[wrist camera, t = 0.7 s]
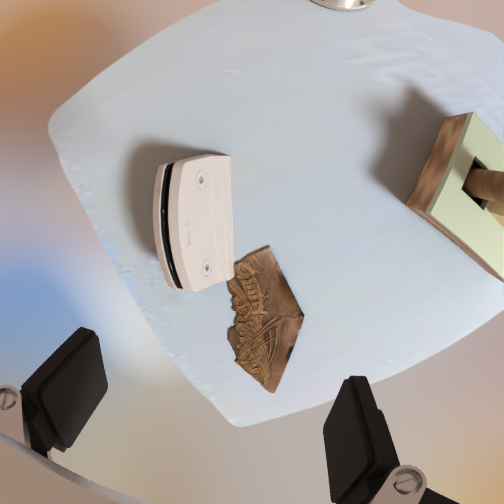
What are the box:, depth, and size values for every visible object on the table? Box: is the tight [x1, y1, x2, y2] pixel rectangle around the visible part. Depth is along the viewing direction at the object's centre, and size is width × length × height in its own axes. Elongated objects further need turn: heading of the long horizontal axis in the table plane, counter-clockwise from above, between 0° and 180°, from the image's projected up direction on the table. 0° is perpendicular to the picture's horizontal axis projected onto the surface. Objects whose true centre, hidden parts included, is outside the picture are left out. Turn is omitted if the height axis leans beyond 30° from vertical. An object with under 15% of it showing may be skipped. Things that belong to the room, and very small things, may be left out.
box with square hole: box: [405, 113, 504, 282], centre depth 31 cm, size 15×22×6 cm
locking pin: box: [461, 168, 504, 204], centre depth 27 cm, size 4×4×12 cm
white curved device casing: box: [153, 154, 235, 292], centre depth 34 cm, size 17×5×10 cm, turn 2°
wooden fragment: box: [227, 246, 304, 393], centre depth 42 cm, size 26×11×1 cm, turn 1°
